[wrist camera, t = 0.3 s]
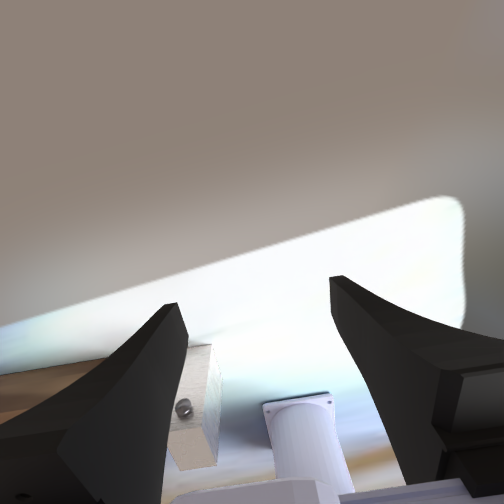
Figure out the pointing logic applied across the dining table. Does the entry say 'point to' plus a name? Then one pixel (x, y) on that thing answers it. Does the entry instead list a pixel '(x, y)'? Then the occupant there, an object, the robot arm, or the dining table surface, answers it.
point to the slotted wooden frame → (37, 386)
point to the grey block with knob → (197, 411)
